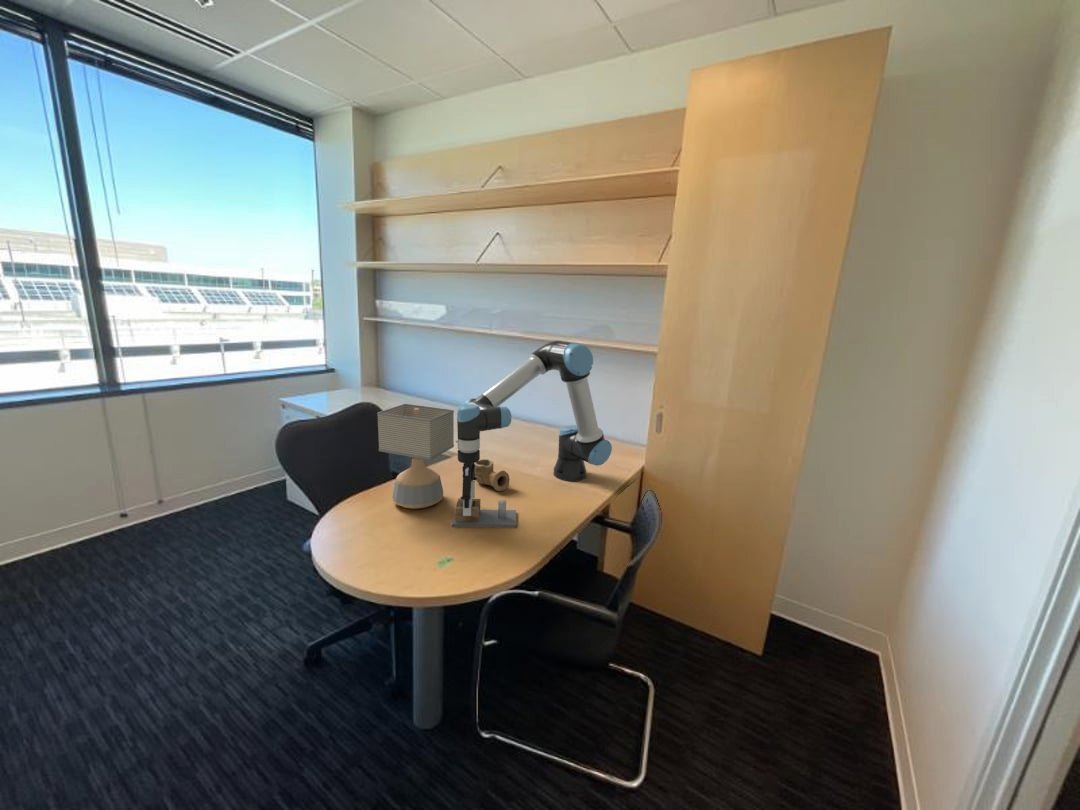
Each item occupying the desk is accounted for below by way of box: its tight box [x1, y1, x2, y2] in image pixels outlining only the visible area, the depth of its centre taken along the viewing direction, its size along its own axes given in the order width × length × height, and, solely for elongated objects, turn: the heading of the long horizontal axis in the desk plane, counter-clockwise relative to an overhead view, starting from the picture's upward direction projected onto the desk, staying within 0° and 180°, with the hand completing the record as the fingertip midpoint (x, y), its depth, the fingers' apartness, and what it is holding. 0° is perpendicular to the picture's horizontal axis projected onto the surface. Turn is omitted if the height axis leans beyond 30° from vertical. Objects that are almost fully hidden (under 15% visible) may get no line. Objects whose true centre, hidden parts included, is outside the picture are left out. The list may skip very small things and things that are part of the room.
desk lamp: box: [376, 403, 455, 510], centre depth 162 cm, size 22×19×37 cm
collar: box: [454, 498, 481, 522], centre depth 153 cm, size 8×8×5 cm
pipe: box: [474, 458, 510, 492], centre depth 181 cm, size 9×16×10 cm, turn 53°
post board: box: [451, 489, 517, 528], centre depth 153 cm, size 22×11×11 cm, turn 93°
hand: (469, 506), depth 153 cm, fingers open, 13 cm apart
